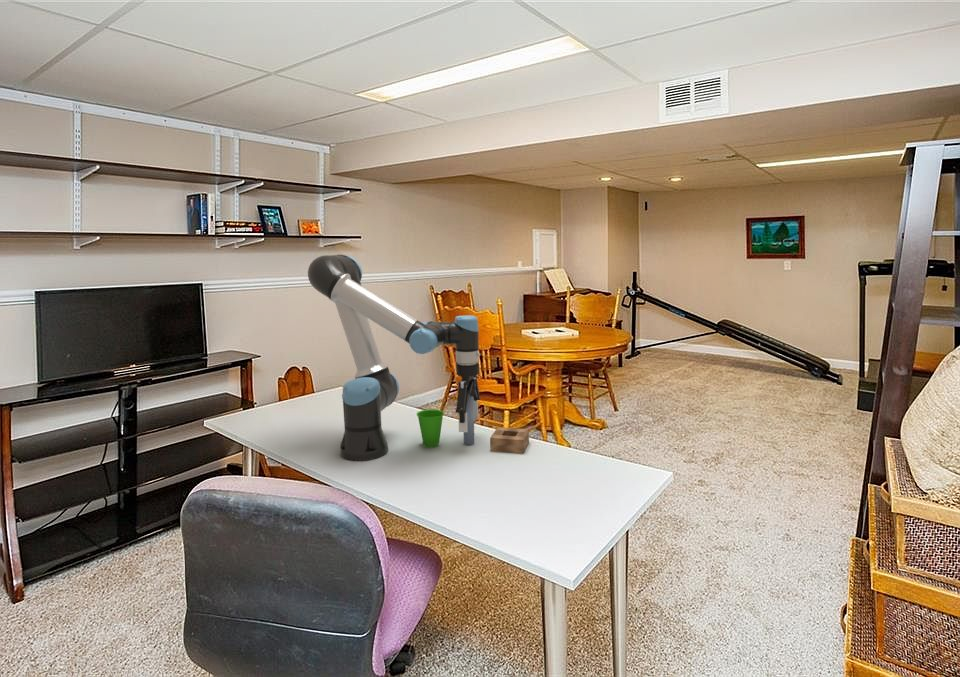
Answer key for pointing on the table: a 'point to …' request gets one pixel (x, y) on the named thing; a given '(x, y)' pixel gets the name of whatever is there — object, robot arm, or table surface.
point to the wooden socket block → (509, 440)
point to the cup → (430, 426)
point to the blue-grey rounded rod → (470, 422)
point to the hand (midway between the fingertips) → (468, 425)
